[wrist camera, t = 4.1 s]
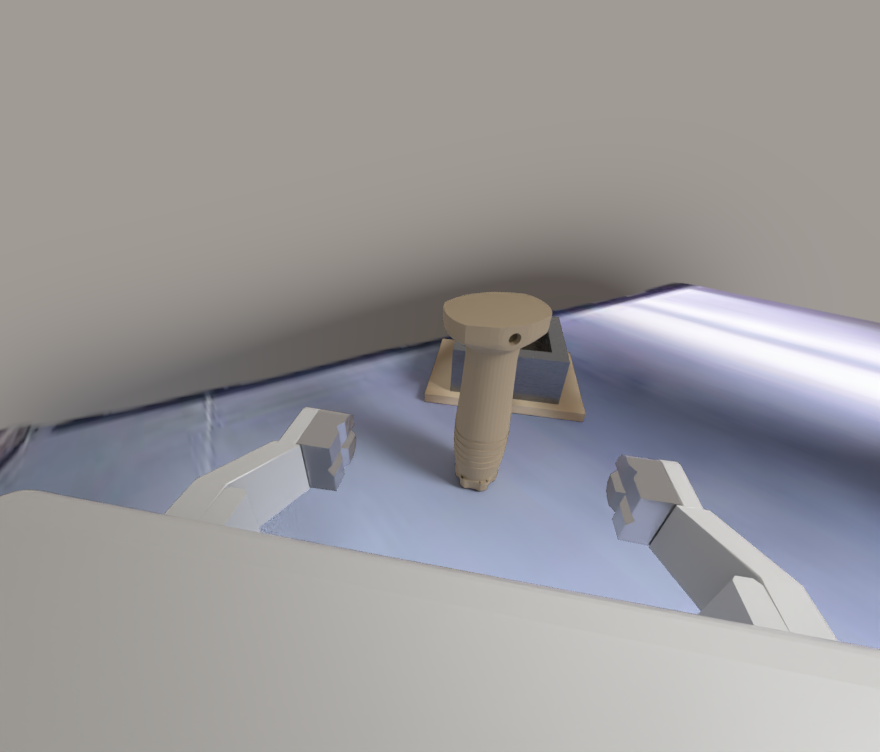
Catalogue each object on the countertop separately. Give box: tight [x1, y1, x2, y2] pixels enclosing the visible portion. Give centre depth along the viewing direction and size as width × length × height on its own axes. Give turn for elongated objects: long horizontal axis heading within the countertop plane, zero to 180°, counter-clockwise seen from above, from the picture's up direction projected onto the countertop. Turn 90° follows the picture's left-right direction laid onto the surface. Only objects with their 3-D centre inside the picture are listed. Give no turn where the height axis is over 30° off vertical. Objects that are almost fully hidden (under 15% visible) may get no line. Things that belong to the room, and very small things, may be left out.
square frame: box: [450, 317, 570, 404], centre depth 40 cm, size 11×10×5 cm
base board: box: [425, 339, 586, 422], centre depth 42 cm, size 16×12×1 cm
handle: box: [443, 292, 552, 491], centre depth 26 cm, size 5×6×15 cm
